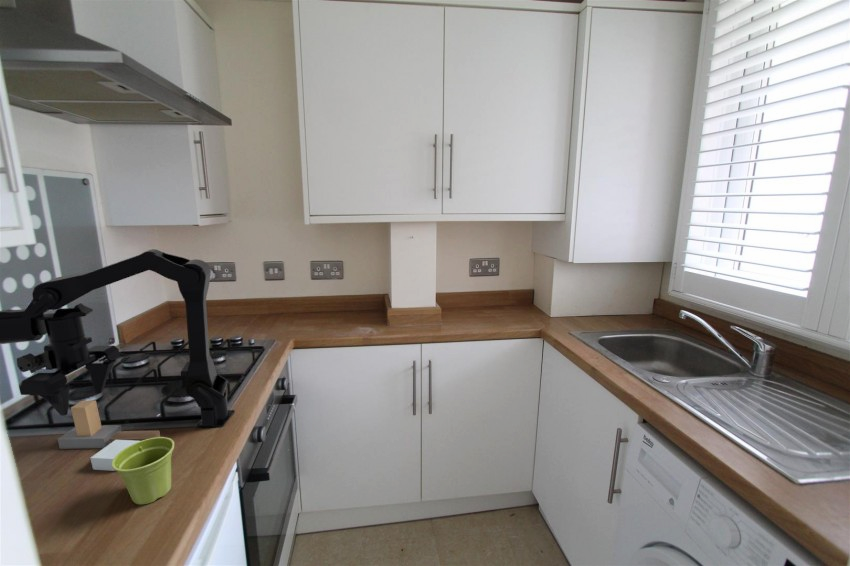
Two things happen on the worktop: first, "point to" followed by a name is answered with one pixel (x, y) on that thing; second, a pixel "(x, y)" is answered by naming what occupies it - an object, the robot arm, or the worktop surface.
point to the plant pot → (146, 468)
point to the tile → (109, 454)
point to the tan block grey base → (87, 428)
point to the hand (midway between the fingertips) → (82, 403)
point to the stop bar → (134, 435)
